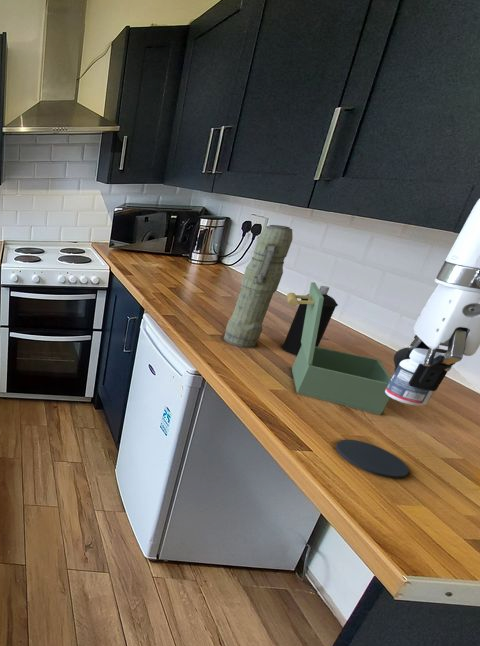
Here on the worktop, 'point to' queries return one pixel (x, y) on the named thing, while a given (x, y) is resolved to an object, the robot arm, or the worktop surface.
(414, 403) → the pill bottle
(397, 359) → the light bulb
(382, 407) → the chest
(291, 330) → the aerosol can
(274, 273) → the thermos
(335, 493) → the worktop surface
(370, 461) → the coaster
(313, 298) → the chest lid
